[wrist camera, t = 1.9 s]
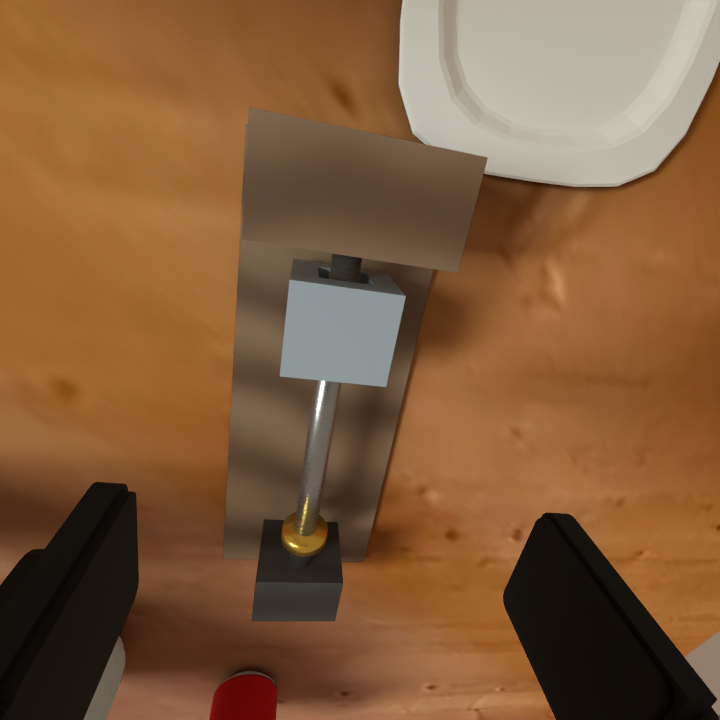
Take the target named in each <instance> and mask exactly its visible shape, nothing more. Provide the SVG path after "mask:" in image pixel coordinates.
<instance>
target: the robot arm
mask: <svg viewBox="0 0 720 720" xmlns="http://www.w3.org/2000/svg"><path fill="white" fill-rule="evenodd" d="M138 583H139V575H138V541H137V507H136V493H135V492H128V488H127V485H126V484H118V483H103V482H95V483H93V484H92V485H91V487H90V488H89V489H88V490H87V492H86V493H85V495H84V496H83V497H82V499H81V500H80V501H79V503H78V504H77V506H76V507H75V508H74V510H73V511H72V512H71V514H70V515H69V517H68V518H67V519H66V521H65V522H64V523H63V525H62V526H61V528H60V529H59V530H58V532H57V533H56V534H55V536H54V537H53V539H52V540H51V541H50V543H49V544H48V545H47V547H46V548H45V549H34V550H31V551H30V552H28V553H27V554H25V555H24V557H23V558H22V559H21V560H20V561H19V562H18V563H17V565H16V566H15V567H14V568H13V570H12V571H11V572H10V574H9V575H8V576H7V577H6V579H5V580H4V581H3V583H2V584H1V585H0V720H84V717H85V715H86V713H87V710H88V708H89V706H90V703H91V701H92V699H93V696H94V694H95V691H96V689H97V687H98V684H99V682H100V680H101V677H102V675H103V673H104V670H105V668H106V666H107V663H108V661H109V658H110V656H111V654H112V651H113V649H114V647H115V644H116V642H117V640H118V637H119V635H120V633H121V630H122V628H123V625H124V623H125V621H126V618H127V616H128V614H129V611H130V609H131V607H132V604H133V602H134V599H135V596H136V593H137V589H138ZM503 601H504V606H505V609H506V611H507V613H508V615H509V618H510V620H511V622H512V624H513V626H514V629H515V631H516V633H517V635H518V637H519V640H520V642H521V644H522V646H523V648H524V650H525V653H526V655H527V657H528V659H529V661H530V664H531V666H532V668H533V670H534V672H535V675H536V677H537V679H538V681H539V683H540V685H541V688H542V690H543V692H544V694H545V696H546V699H547V701H548V703H549V705H550V707H551V709H552V712H553V714H554V716H555V718H556V720H720V715H719V716H718V715H717V714H716V712H715V711H714V710H713V708H712V707H711V706H712V705H713V704H714V703H715V701H716V700H717V699H716V697H715V696H714V695H713V693H711V691H710V690H709V688H708V687H707V686H706V684H705V683H704V682H703V681H702V679H701V678H700V677H699V676H698V674H697V673H696V672H695V671H694V669H693V668H692V667H691V665H690V664H689V663H688V662H687V661H686V659H685V658H684V657H683V655H682V654H681V653H680V651H679V650H678V649H677V648H676V646H675V645H674V644H673V643H672V641H671V640H670V639H669V637H668V636H667V635H666V634H665V632H664V631H663V630H662V629H661V627H660V626H659V625H658V624H657V622H656V621H655V620H654V618H653V617H652V616H651V615H650V613H649V612H648V611H647V610H646V608H645V607H644V606H643V604H642V603H641V602H640V601H639V599H638V598H637V597H636V596H635V594H634V593H633V592H632V591H631V589H630V588H629V587H628V585H627V584H626V583H625V582H624V580H623V579H622V578H621V577H620V575H619V574H618V573H617V571H616V570H615V569H614V568H613V566H612V565H611V564H610V563H609V561H608V560H607V559H606V557H605V556H604V555H603V554H602V552H601V551H600V550H599V549H598V547H597V546H596V545H595V544H594V542H593V541H592V540H591V538H590V537H589V536H588V535H587V533H586V532H585V531H584V530H583V528H582V527H581V526H580V524H579V523H578V522H577V521H576V519H575V518H574V517H573V516H571V515H569V514H561V513H545V514H543V515H542V517H541V518H539V519H538V520H537V521H536V522H535V525H534V527H533V529H532V531H531V533H530V536H529V538H528V540H527V542H526V544H525V547H524V549H523V551H522V553H521V555H520V558H519V560H518V562H517V564H516V566H515V569H514V571H513V573H512V575H511V577H510V580H509V582H508V584H507V586H506V588H505V591H504V594H503Z"/></svg>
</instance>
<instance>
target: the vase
mask: <svg viewBox="0 0 720 720" xmlns="http://www.w3.org/2000/svg"><path fill="white" fill-rule="evenodd" d="M124 667H125V651H124V646H123V643H122V640H121V638H120V636H119V637H118V640H117V642H116V644H115V647H114V649H113V651H112V654H111V656H110V658H109V661H108V663H107V666H106V668H105V670H104V673H103V675H102V677H101V680H100V682H99V684H98V687H97V689H96V691H95V694H94V696H93V699H92V701H91V703H90V706H89V708H88V710H87V713H86V715H85V717H84V720H106V719H107V716H108V713H109V711H110V708H111V705H112V703H113V700H114V697H115V695H116V692H117V689H118V687H119V684H120V681H121V679H122V676H123V671H124Z"/></svg>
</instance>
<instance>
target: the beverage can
mask: <svg viewBox="0 0 720 720" xmlns="http://www.w3.org/2000/svg"><path fill="white" fill-rule="evenodd" d="M276 708H277V687H276V684H275V682H274V681H273V679H271V678H270V677H269V676H267V675H265V674H263V673H260V672H257V671H243V672H239V673H237V674H235V675H233V676H231V677H229V678H227V679H226V680H224V681H223V682H222V683H221V684H220V686H219V687H218V688H217V690H216V691H215V694H214V697H213V702H212V708H211V713H210V719H209V720H276Z"/></svg>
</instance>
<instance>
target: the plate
mask: <svg viewBox="0 0 720 720" xmlns="http://www.w3.org/2000/svg"><path fill="white" fill-rule="evenodd" d="M719 62H720V0H402V8H401V16H400V35H399V74H398V87H399V91H400V94H401V97H402V101H403V104H404V108H405V111H406V115H407V118H408V122H409V125H410V128H411V132H412V134H413V135H414V136H415V137H416V138H418V139H419V140H420V141H421V142H422V143H423V144H426V145H431V146H436V147H440V148H445V149H450V150H455V151H459V152H464V153H469V154H474V155H478V156H483V157H488V159H487V163H486V167H485V171H484V174H488V175H495V176H501V177H507V178H513V179H520V180H526V181H532V182H540V183H548V184H556V185H564V186H572V187H611V186H620V185H622V184H624V183H627V182H629V181H632V180H634V179H636V178H639V177H641V176H644V175H646V174H648V173H651V172H653V171H655V170H656V169H657V168H658V166H659V165H660V164H661V163H662V162H663V161H664V159H665V158H666V157H667V156H668V155H669V153H670V152H671V151H672V150H673V149H674V148H675V146H676V145H677V144H678V143H679V142H680V141H681V139H682V138H683V137H684V136H685V135H686V133H687V131H688V129H689V127H690V124H691V122H692V120H693V118H694V116H695V114H696V112H697V110H698V108H699V106H700V104H701V102H702V100H703V98H704V96H705V94H706V92H707V90H708V88H709V86H710V84H711V82H712V79H713V77H714V74H715V72H716V69H717V67H718V64H719Z"/></svg>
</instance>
